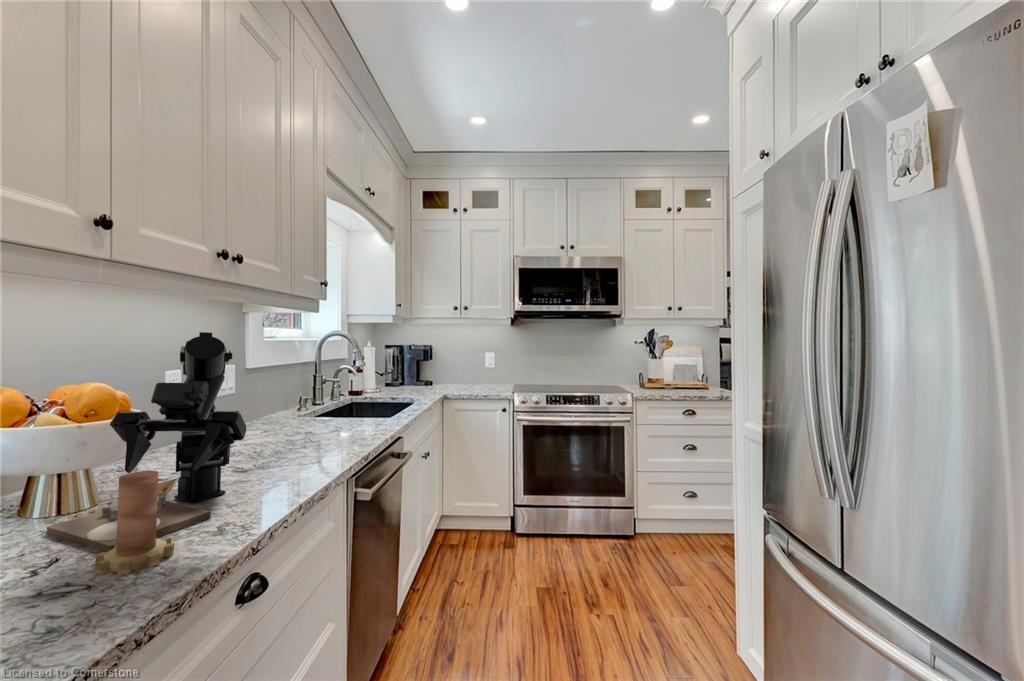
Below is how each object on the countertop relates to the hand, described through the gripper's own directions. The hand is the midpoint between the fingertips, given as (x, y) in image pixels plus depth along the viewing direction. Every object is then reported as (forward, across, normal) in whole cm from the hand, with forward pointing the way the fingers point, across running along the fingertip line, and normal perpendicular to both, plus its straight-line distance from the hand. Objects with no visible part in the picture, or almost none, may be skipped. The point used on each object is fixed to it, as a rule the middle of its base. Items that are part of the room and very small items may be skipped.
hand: (160, 470), depth 68 cm
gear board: (+2, -8, +14) cm, 17 cm away
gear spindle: (+12, 0, +5) cm, 13 cm away
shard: (-10, -16, +27) cm, 33 cm away
